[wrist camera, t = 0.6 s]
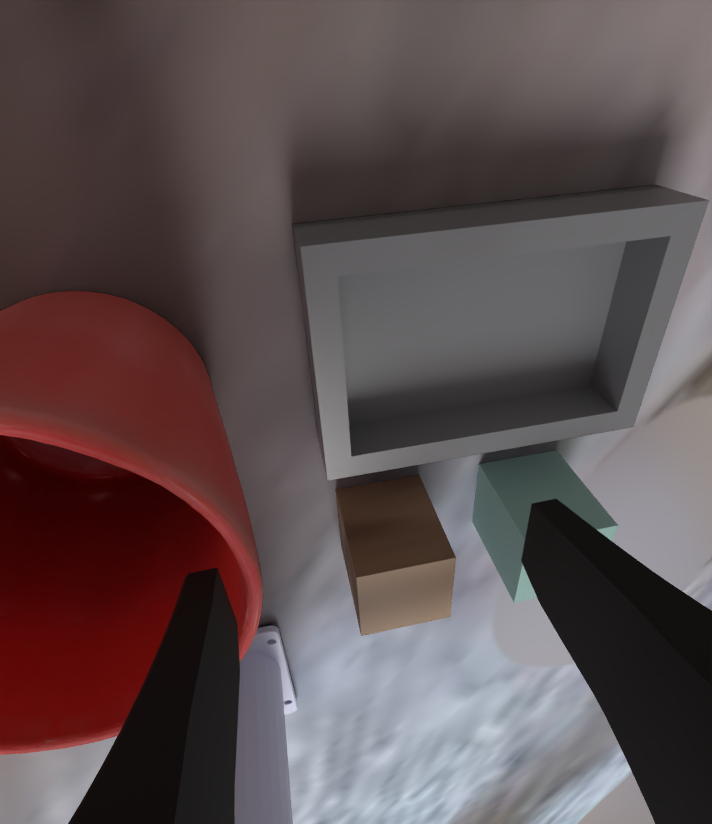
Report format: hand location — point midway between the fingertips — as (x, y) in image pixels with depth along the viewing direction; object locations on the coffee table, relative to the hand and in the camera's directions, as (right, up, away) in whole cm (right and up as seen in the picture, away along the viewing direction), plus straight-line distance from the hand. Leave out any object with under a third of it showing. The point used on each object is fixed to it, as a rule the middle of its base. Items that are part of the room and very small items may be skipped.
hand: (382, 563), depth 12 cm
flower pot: (-10, +4, +7) cm, 13 cm away
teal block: (+7, 0, +14) cm, 16 cm away
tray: (+4, +7, +8) cm, 11 cm away
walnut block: (+1, -1, +13) cm, 13 cm away
